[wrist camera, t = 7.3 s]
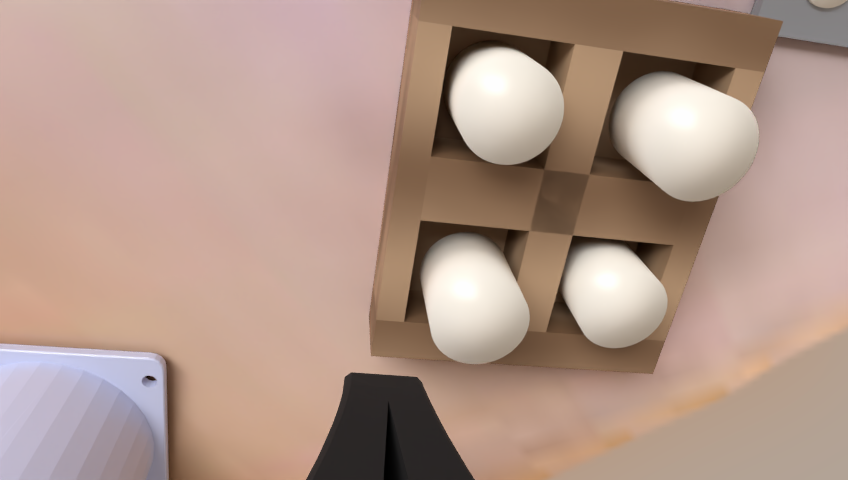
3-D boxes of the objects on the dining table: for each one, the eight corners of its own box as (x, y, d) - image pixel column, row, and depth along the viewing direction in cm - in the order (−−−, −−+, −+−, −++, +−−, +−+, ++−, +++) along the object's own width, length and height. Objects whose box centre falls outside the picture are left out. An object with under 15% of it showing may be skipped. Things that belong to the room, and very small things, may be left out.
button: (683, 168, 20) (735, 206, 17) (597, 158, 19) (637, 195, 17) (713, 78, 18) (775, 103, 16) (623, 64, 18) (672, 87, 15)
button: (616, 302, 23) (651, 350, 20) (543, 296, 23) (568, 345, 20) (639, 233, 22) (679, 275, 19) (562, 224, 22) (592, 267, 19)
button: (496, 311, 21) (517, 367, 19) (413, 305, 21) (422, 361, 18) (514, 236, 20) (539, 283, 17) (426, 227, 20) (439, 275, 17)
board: (626, 335, 25) (652, 373, 23) (369, 316, 23) (371, 356, 21) (736, 11, 20) (783, 20, 18) (417, -42, 18) (426, -38, 16)
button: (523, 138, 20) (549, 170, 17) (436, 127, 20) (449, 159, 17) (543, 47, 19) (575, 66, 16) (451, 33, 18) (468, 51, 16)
